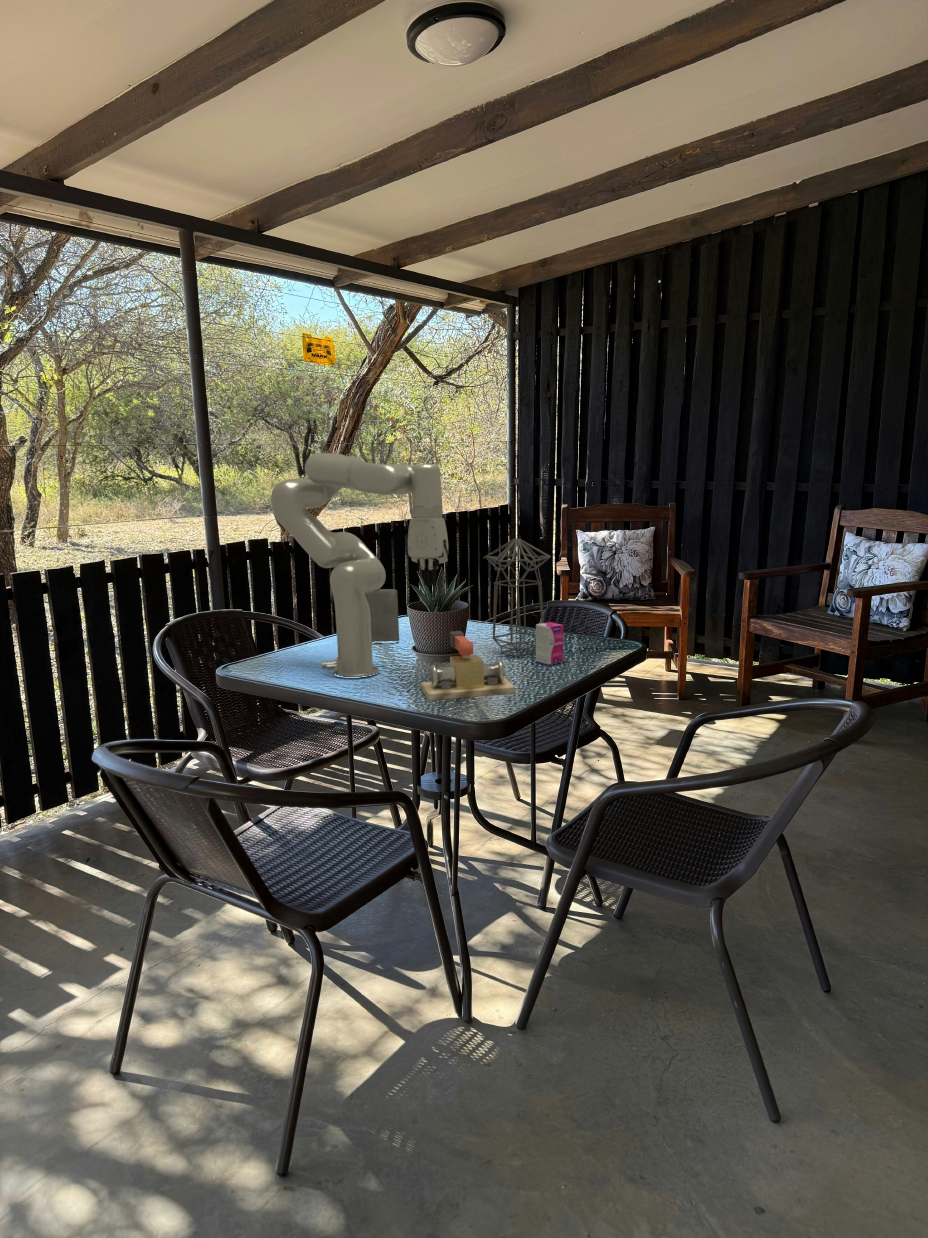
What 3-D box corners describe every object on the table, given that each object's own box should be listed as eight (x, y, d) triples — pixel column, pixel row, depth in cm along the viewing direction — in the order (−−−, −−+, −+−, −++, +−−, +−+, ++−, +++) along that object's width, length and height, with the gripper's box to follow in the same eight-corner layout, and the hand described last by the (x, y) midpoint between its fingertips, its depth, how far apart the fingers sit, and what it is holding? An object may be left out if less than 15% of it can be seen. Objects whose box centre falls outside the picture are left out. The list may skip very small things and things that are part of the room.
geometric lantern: (521, 645, 255) (519, 535, 249) (555, 653, 243) (554, 537, 237) (482, 653, 246) (479, 539, 240) (515, 662, 234) (513, 541, 227)
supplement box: (548, 666, 227) (548, 626, 225) (535, 663, 232) (534, 624, 230) (564, 663, 230) (563, 624, 228) (550, 659, 235) (549, 621, 233)
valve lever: (475, 658, 201) (474, 642, 200) (460, 659, 200) (460, 643, 200) (462, 646, 216) (461, 630, 216) (448, 647, 216) (448, 631, 215)
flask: (399, 640, 270) (396, 581, 266) (399, 643, 264) (397, 583, 261) (354, 642, 268) (351, 583, 265) (353, 645, 263) (350, 585, 259)
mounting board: (428, 700, 196) (428, 694, 196) (420, 688, 208) (420, 682, 207) (515, 693, 200) (515, 687, 200) (503, 681, 212) (503, 676, 212)
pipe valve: (435, 694, 198) (434, 664, 197) (429, 687, 206) (428, 658, 204) (505, 688, 202) (504, 659, 201) (497, 681, 209) (497, 653, 208)
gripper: (395, 514, 206) (398, 585, 209) (443, 514, 198) (445, 587, 201) (412, 512, 212) (415, 581, 215) (459, 512, 204) (462, 584, 207)
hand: (430, 584), depth 208 cm, fingers closed
